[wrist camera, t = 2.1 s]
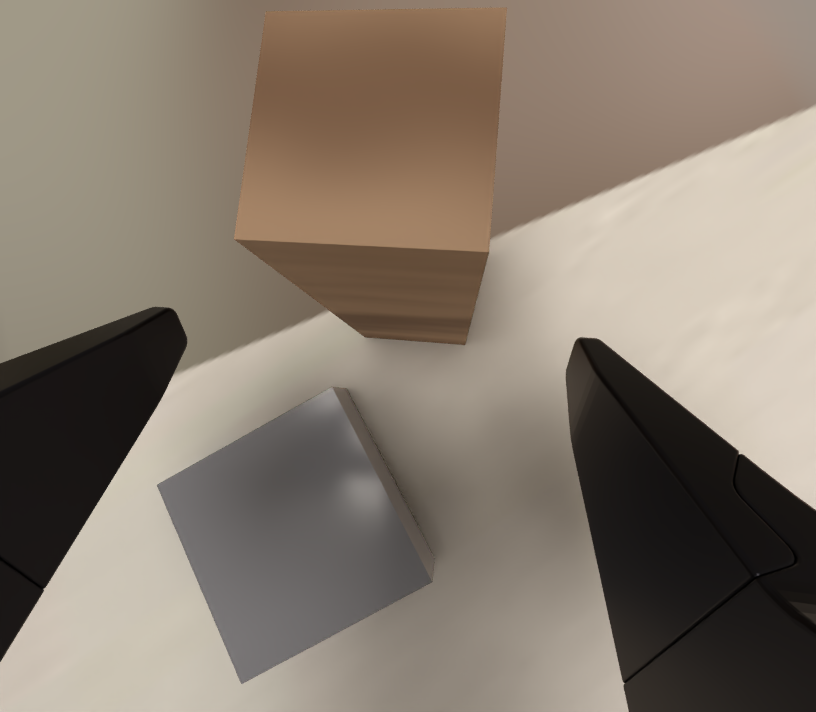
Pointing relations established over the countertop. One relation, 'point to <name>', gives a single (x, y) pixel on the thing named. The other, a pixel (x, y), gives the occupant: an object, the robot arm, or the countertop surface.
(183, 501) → the light grey plinth
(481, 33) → the walnut pillar
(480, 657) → the countertop surface
